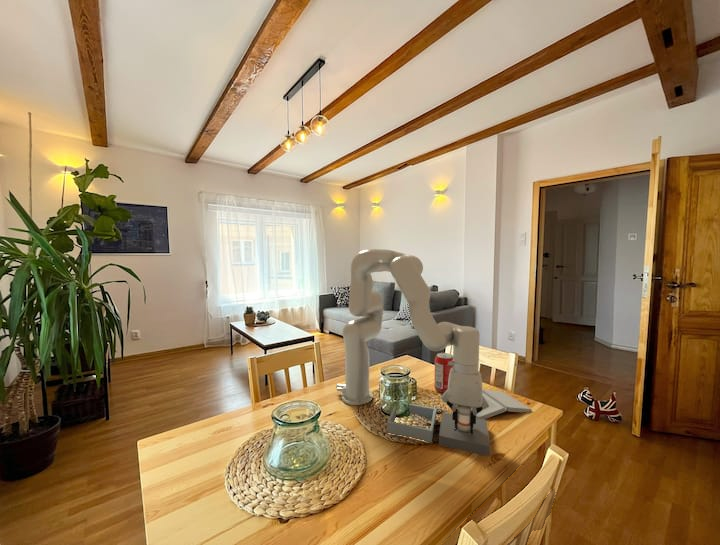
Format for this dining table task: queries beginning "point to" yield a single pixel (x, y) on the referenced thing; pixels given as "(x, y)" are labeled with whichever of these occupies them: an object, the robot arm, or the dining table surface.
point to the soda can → (442, 371)
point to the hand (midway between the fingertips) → (463, 423)
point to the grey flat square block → (464, 436)
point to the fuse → (463, 418)
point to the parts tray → (414, 430)
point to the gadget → (500, 404)
